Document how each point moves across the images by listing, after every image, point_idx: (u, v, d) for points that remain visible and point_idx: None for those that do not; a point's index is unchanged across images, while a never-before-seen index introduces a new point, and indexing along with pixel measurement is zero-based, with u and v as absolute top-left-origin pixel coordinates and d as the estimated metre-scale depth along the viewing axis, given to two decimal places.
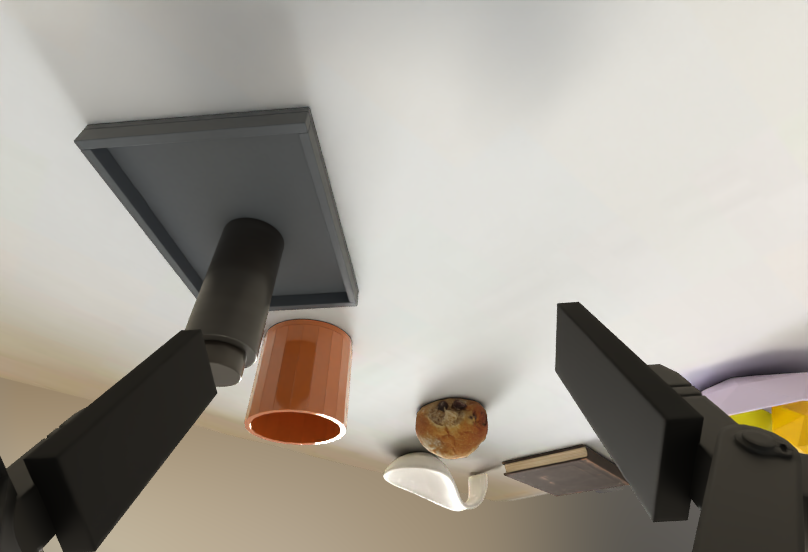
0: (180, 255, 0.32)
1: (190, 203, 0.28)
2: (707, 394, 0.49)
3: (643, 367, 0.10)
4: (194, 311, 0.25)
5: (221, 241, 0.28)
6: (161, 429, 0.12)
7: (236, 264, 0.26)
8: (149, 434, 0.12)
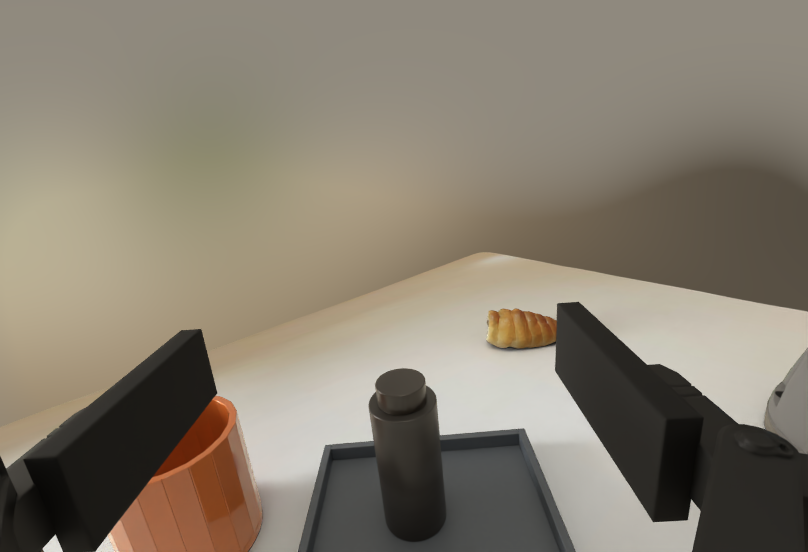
0: None
1: (462, 477, 0.33)
2: None
3: (643, 367, 0.10)
4: None
5: None
6: (161, 429, 0.12)
7: (441, 468, 0.28)
8: (148, 434, 0.12)
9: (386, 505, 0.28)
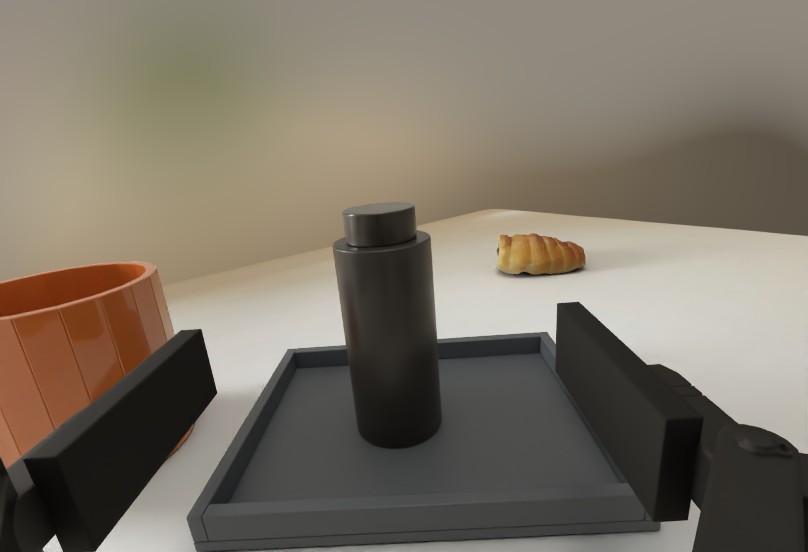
0: None
1: (464, 382, 0.24)
2: None
3: (643, 367, 0.10)
4: None
5: None
6: (161, 429, 0.12)
7: (435, 346, 0.20)
8: (149, 434, 0.12)
9: (356, 396, 0.20)
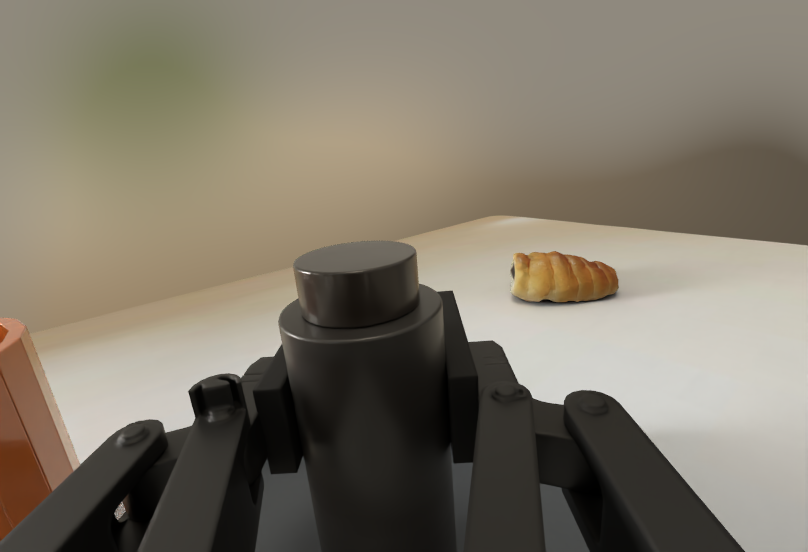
0: None
1: None
2: None
3: (462, 340, 0.12)
4: None
5: None
6: None
7: (450, 471, 0.12)
8: None
9: (323, 551, 0.12)
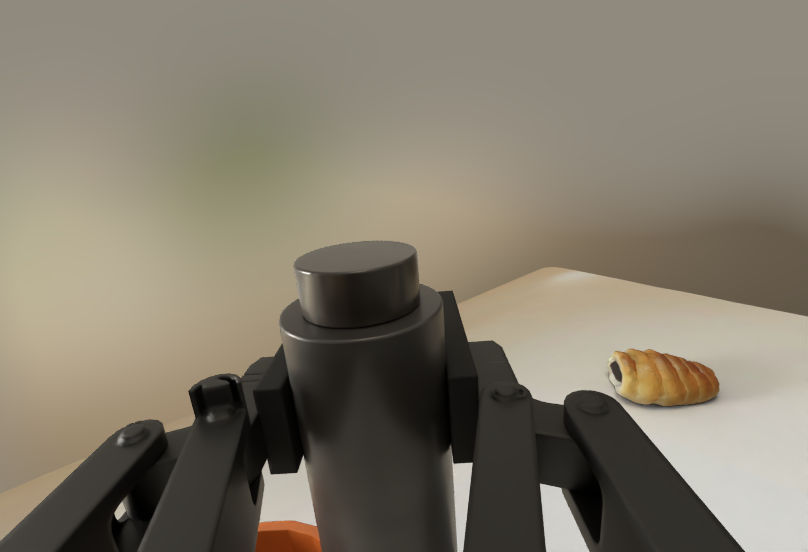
0: None
1: None
2: None
3: (462, 340, 0.12)
4: None
5: None
6: None
7: (450, 471, 0.12)
8: None
9: (324, 551, 0.12)
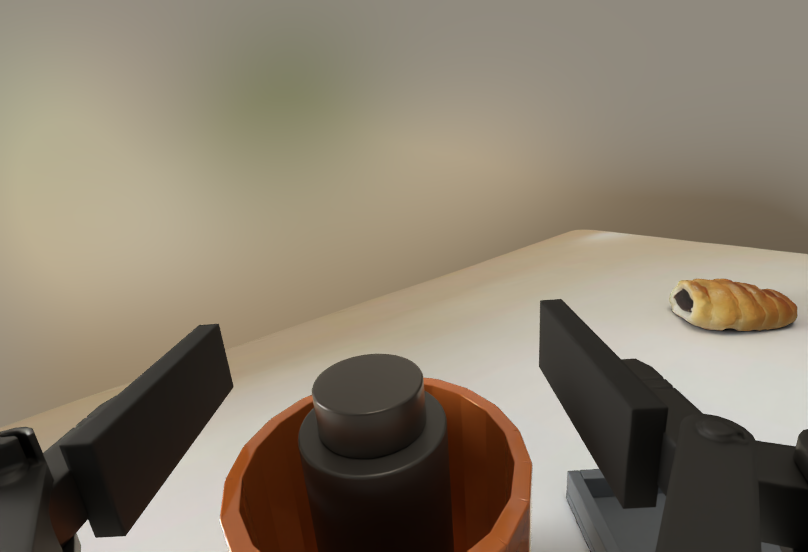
0: None
1: None
2: None
3: (616, 361, 0.11)
4: None
5: None
6: (183, 420, 0.13)
7: None
8: (172, 425, 0.12)
9: None
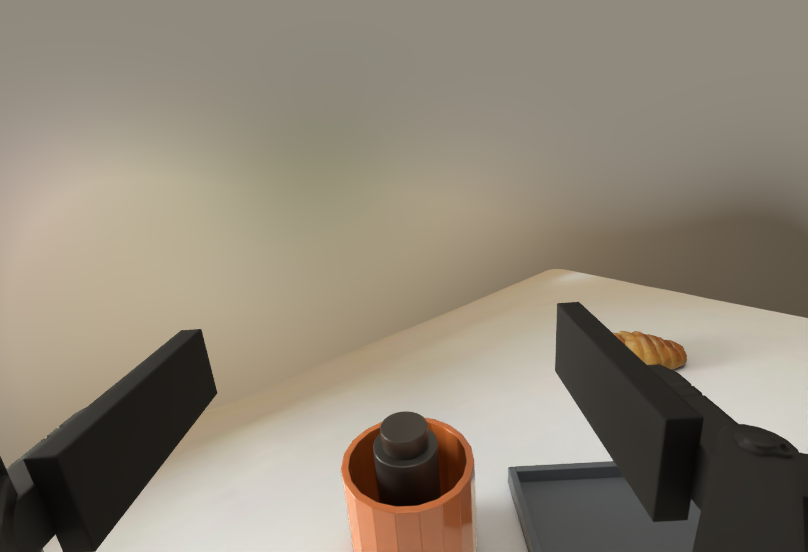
0: (587, 475, 0.36)
1: None
2: None
3: (643, 367, 0.10)
4: None
5: None
6: (161, 429, 0.12)
7: None
8: (149, 434, 0.12)
9: None
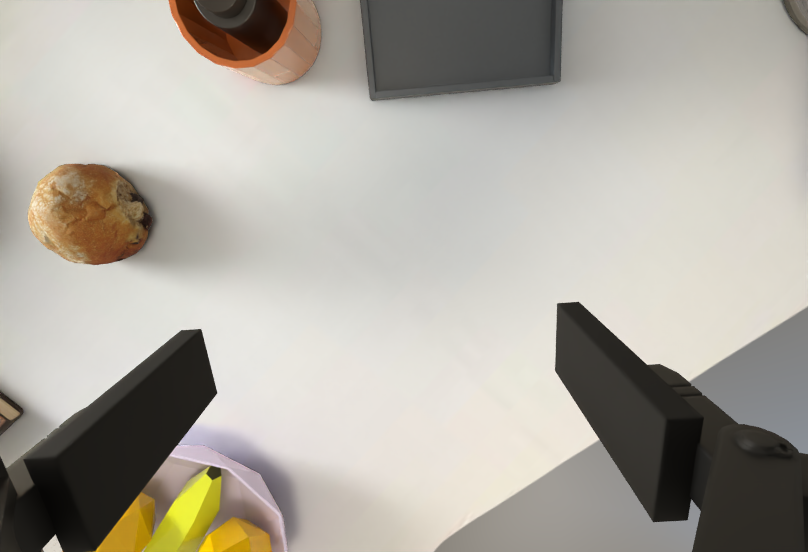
0: None
1: None
2: (233, 460, 0.49)
3: (643, 367, 0.10)
4: None
5: (281, 5, 0.35)
6: (161, 429, 0.12)
7: (279, 20, 0.33)
8: (148, 434, 0.12)
9: None
